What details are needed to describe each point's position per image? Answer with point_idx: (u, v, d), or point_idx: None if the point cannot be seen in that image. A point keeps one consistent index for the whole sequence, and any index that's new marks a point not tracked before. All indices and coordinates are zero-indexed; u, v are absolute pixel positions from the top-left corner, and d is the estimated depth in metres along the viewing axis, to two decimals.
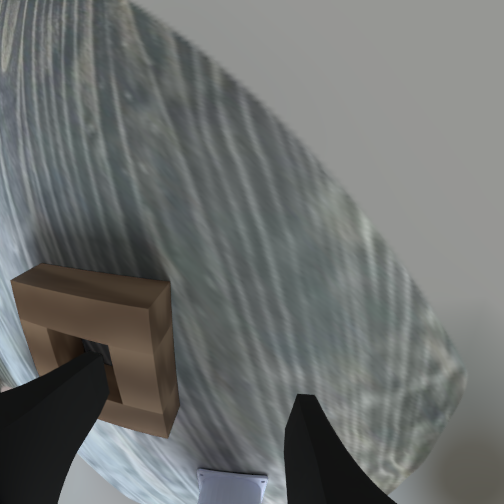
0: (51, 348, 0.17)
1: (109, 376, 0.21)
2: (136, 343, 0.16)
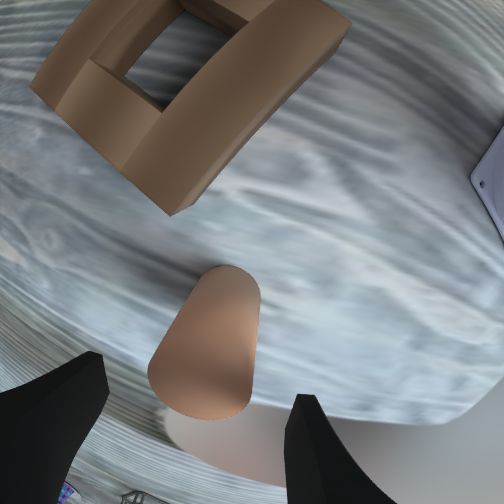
0: (108, 75, 0.10)
1: None
2: None
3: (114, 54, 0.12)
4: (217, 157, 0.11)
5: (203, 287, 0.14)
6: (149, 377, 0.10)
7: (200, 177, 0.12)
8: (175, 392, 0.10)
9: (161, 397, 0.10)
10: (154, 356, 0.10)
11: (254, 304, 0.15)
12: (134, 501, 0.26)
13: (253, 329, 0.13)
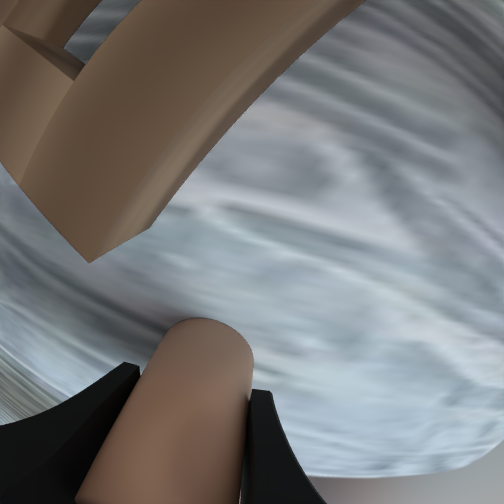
0: (17, 39, 0.05)
1: None
2: None
3: (42, 16, 0.06)
4: (161, 151, 0.06)
5: (161, 365, 0.08)
6: None
7: (132, 192, 0.06)
8: None
9: None
10: (78, 496, 0.04)
11: (242, 389, 0.09)
12: None
13: (238, 442, 0.07)
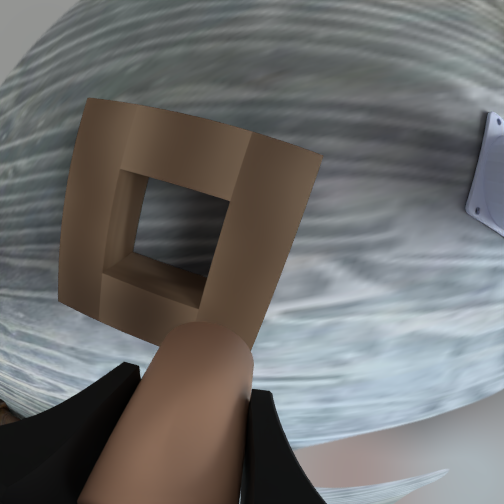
0: (131, 286, 0.14)
1: None
2: (120, 123, 0.12)
3: (118, 250, 0.16)
4: (259, 327, 0.14)
5: (159, 369, 0.08)
6: None
7: (252, 344, 0.15)
8: None
9: None
10: (79, 499, 0.04)
11: (240, 390, 0.09)
12: None
13: (237, 443, 0.07)
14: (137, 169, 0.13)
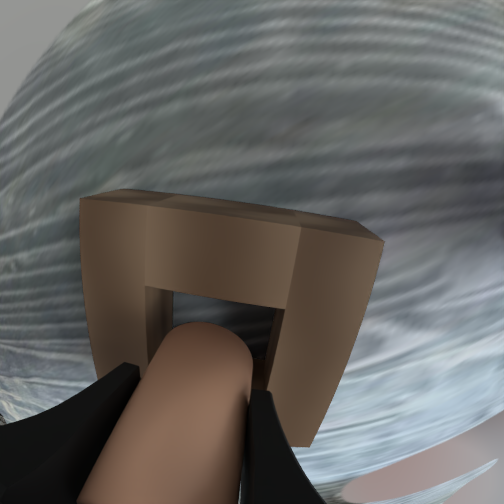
0: None
1: (274, 327, 0.14)
2: (130, 230, 0.11)
3: None
4: (325, 411, 0.13)
5: (158, 369, 0.08)
6: None
7: (319, 425, 0.13)
8: None
9: None
10: (79, 499, 0.04)
11: (239, 390, 0.09)
12: None
13: (235, 443, 0.07)
14: (166, 285, 0.11)
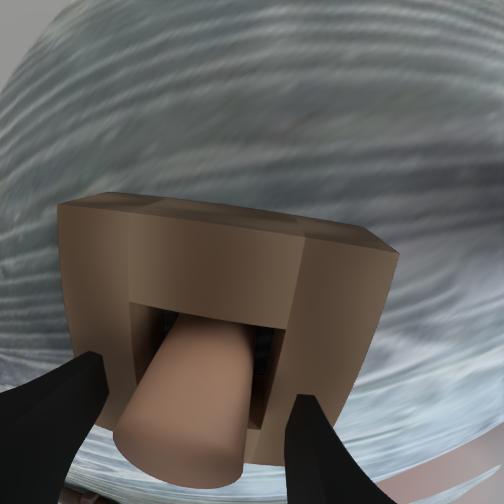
0: None
1: (273, 343, 0.13)
2: (111, 240, 0.09)
3: None
4: None
5: (182, 325, 0.11)
6: (117, 446, 0.07)
7: None
8: (150, 462, 0.07)
9: (136, 465, 0.07)
10: (117, 427, 0.07)
11: (247, 343, 0.11)
12: None
13: (245, 381, 0.09)
14: (152, 302, 0.10)
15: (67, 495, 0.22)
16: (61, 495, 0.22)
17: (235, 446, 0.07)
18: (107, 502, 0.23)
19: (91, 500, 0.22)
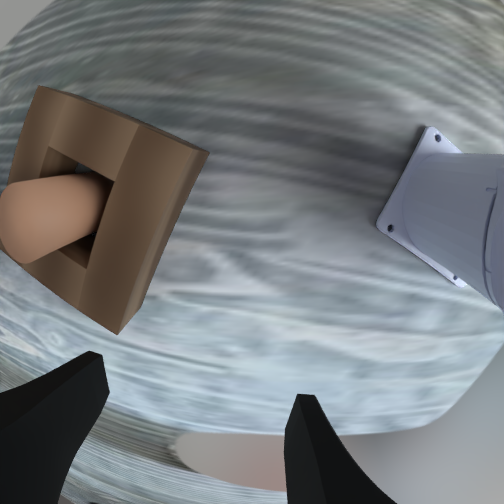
0: None
1: None
2: (54, 109, 0.13)
3: None
4: (130, 295, 0.16)
5: None
6: None
7: (125, 309, 0.16)
8: (6, 228, 0.11)
9: (0, 232, 0.11)
10: (3, 192, 0.10)
11: (100, 198, 0.15)
12: None
13: (80, 207, 0.13)
14: (58, 148, 0.13)
15: None
16: None
17: (45, 216, 0.11)
18: None
19: None
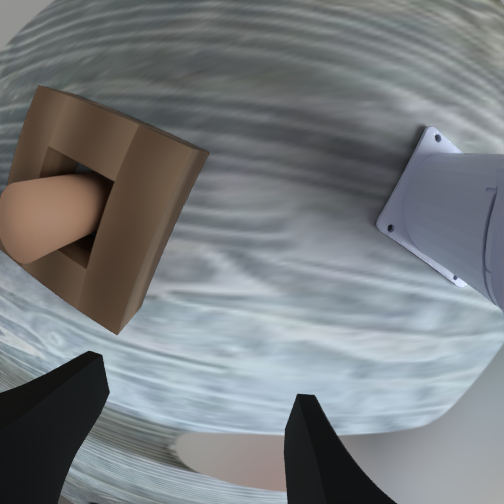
0: None
1: None
2: (54, 109, 0.13)
3: None
4: (130, 295, 0.16)
5: None
6: None
7: (125, 309, 0.16)
8: (7, 228, 0.11)
9: (0, 232, 0.11)
10: (3, 192, 0.10)
11: (100, 198, 0.15)
12: None
13: (80, 207, 0.13)
14: (58, 148, 0.13)
15: None
16: None
17: (45, 216, 0.11)
18: None
19: None
